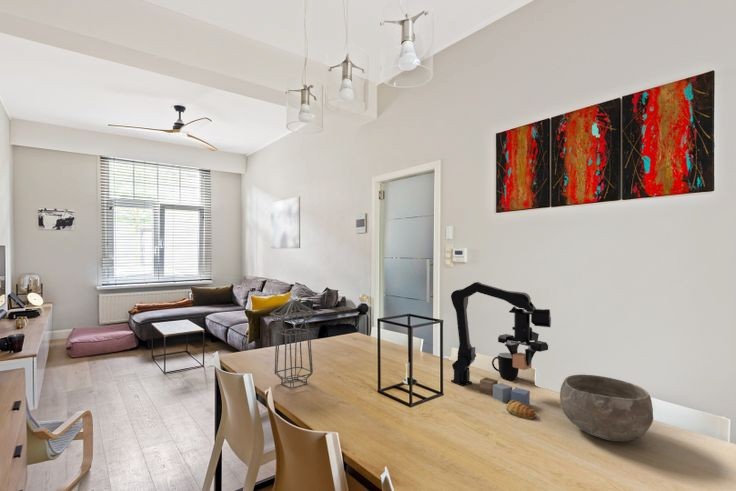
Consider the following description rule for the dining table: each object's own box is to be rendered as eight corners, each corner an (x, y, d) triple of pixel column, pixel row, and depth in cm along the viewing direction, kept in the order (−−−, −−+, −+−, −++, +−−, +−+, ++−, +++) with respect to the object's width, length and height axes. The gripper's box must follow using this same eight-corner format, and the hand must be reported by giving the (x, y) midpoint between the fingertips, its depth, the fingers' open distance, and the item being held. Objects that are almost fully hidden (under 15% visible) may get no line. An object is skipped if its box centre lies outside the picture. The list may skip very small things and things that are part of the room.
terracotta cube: (524, 370, 146) (524, 357, 147) (512, 366, 151) (512, 354, 151) (531, 367, 149) (531, 355, 149) (520, 364, 153) (520, 352, 153)
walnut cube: (491, 396, 147) (491, 383, 147) (479, 392, 151) (479, 380, 151) (497, 393, 151) (497, 380, 151) (485, 389, 154) (486, 377, 154)
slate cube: (502, 402, 141) (502, 389, 141) (492, 397, 145) (492, 384, 145) (512, 400, 143) (512, 387, 143) (502, 395, 148) (502, 382, 148)
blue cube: (525, 408, 136) (525, 394, 136) (511, 404, 139) (511, 391, 139) (529, 404, 139) (529, 390, 139) (515, 400, 143) (515, 387, 143)
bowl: (658, 464, 100) (658, 407, 100) (556, 439, 113) (556, 389, 113) (649, 429, 120) (648, 381, 121) (563, 411, 133) (563, 368, 134)
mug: (522, 377, 169) (522, 355, 170) (515, 382, 162) (515, 359, 163) (495, 372, 177) (495, 350, 177) (488, 376, 170) (488, 354, 170)
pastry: (540, 417, 129) (540, 405, 129) (529, 422, 125) (529, 410, 125) (514, 408, 136) (514, 397, 136) (504, 412, 132) (504, 401, 132)
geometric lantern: (286, 393, 147) (285, 303, 148) (268, 383, 159) (267, 300, 160) (320, 384, 157) (319, 299, 158) (300, 375, 169) (299, 297, 170)
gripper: (556, 326, 147) (555, 366, 147) (513, 319, 163) (513, 355, 162) (539, 329, 141) (539, 371, 141) (497, 321, 156) (497, 359, 156)
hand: (522, 364), depth 150 cm, fingers closed on terracotta cube, 5 cm apart
